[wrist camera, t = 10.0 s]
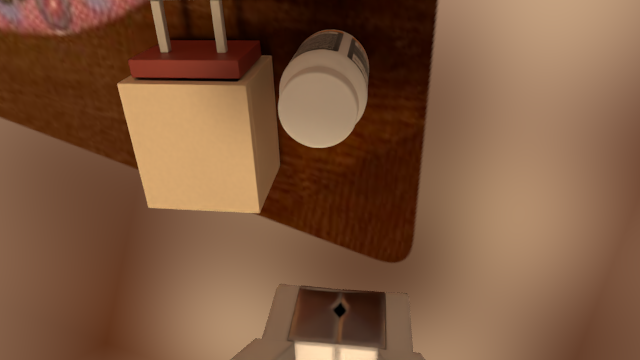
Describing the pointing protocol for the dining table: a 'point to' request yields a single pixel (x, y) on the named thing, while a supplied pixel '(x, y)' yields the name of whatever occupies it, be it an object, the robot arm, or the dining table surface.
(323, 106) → the pill bottle
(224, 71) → the drawer
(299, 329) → the robot arm
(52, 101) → the dining table surface
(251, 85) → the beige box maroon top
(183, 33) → the dining table surface
